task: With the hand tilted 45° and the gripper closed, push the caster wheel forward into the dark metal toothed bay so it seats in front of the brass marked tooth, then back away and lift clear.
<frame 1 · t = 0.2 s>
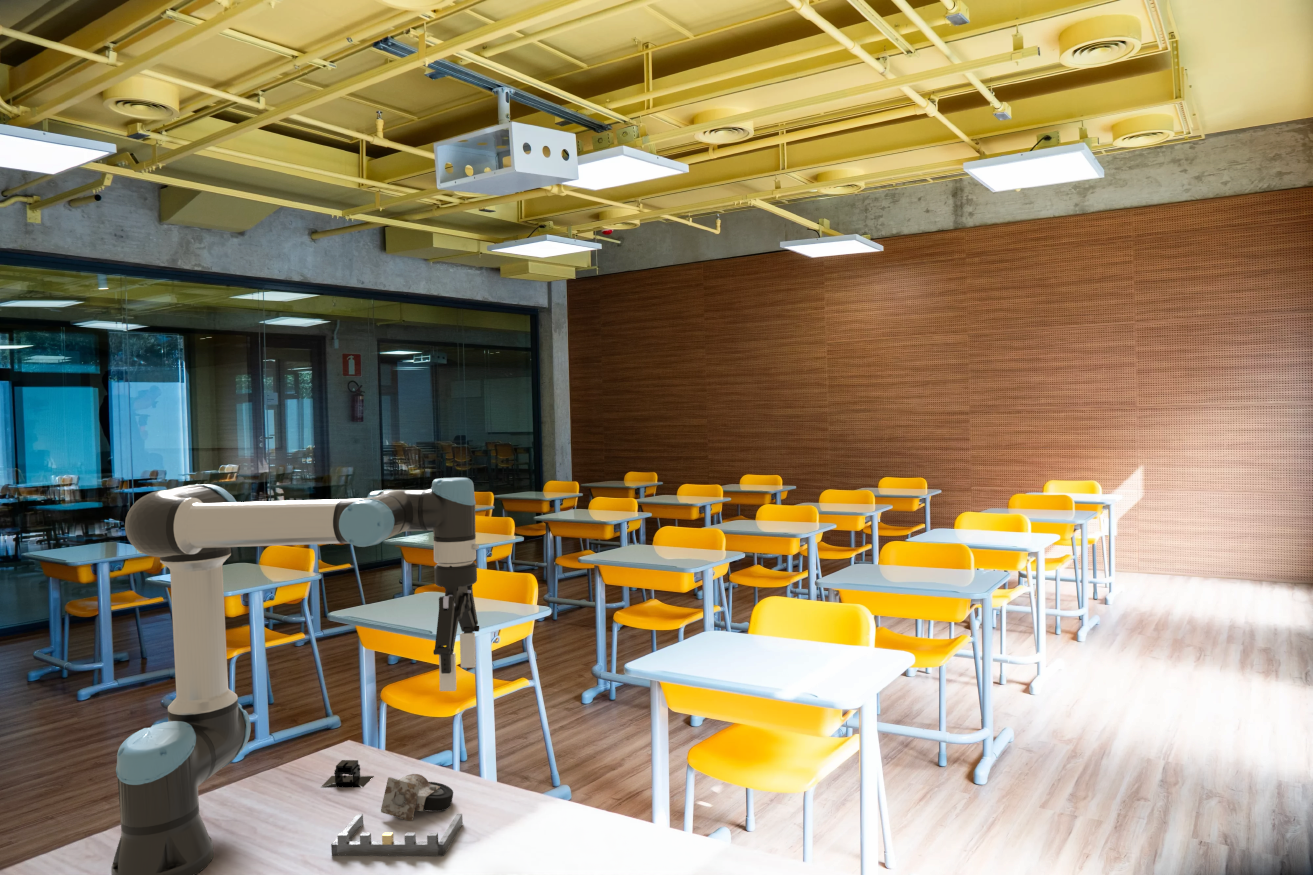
hand: (458, 678, 155), 28 cm above the table, tool pointing down, fingers open, 13 cm apart
caster wheel: (421, 809, 164), on the table
black mounting bracket: (348, 784, 178), on the table
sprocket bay: (399, 839, 153), on the table
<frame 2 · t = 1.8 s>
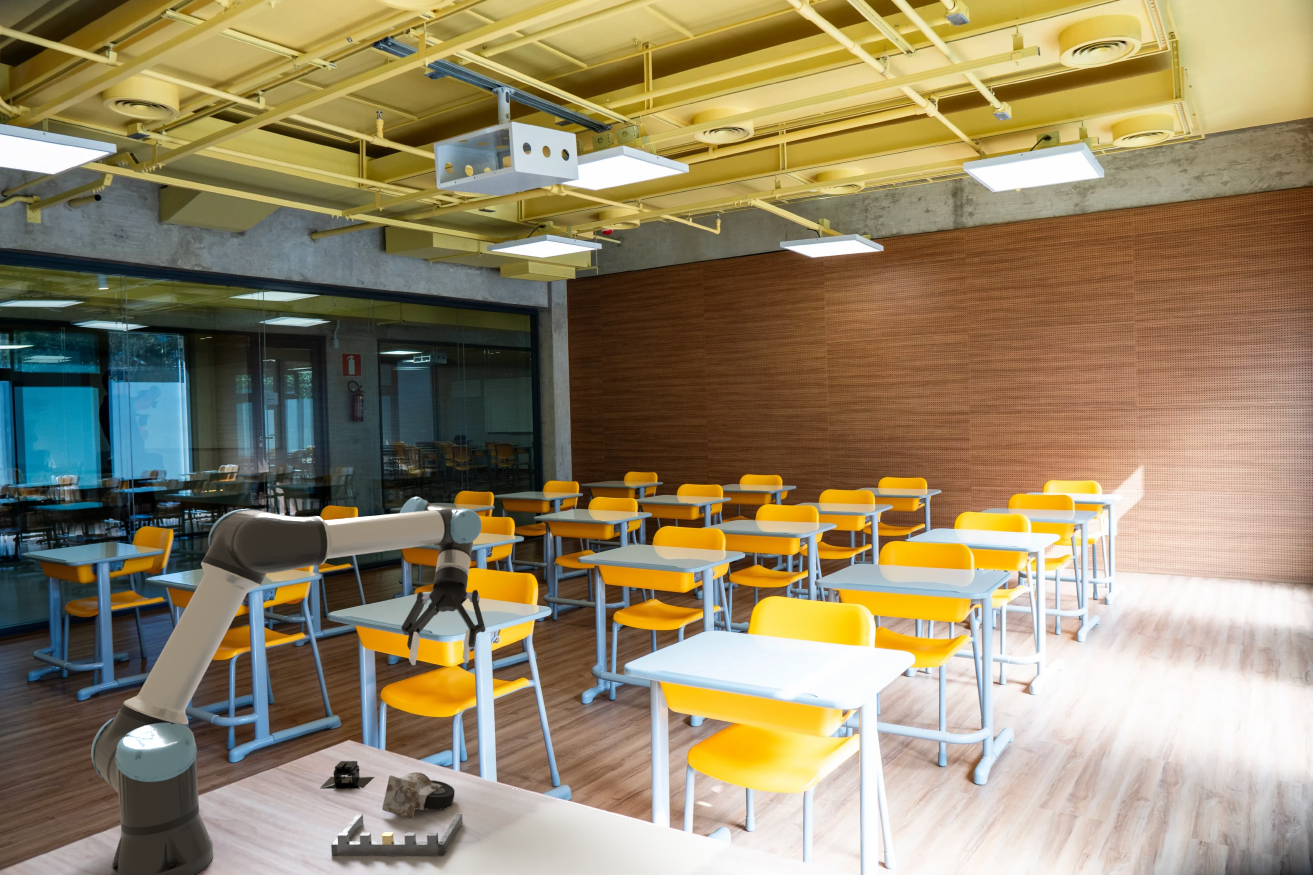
hand: (438, 660, 182), 23 cm above the table, tool tilted 45°, fingers open, 11 cm apart
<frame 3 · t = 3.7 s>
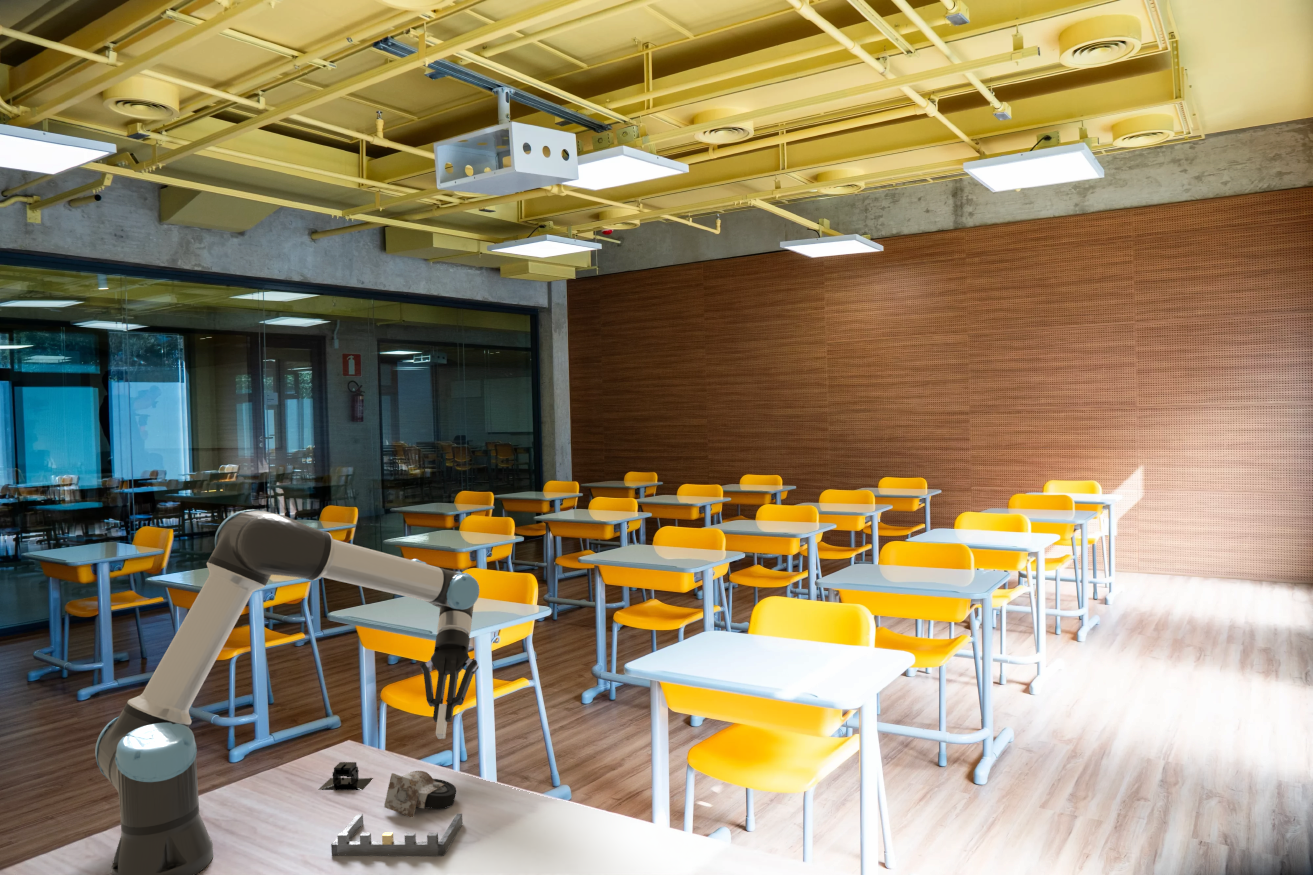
hand: (440, 735, 178), 8 cm above the table, tool tilted 45°, fingers closed
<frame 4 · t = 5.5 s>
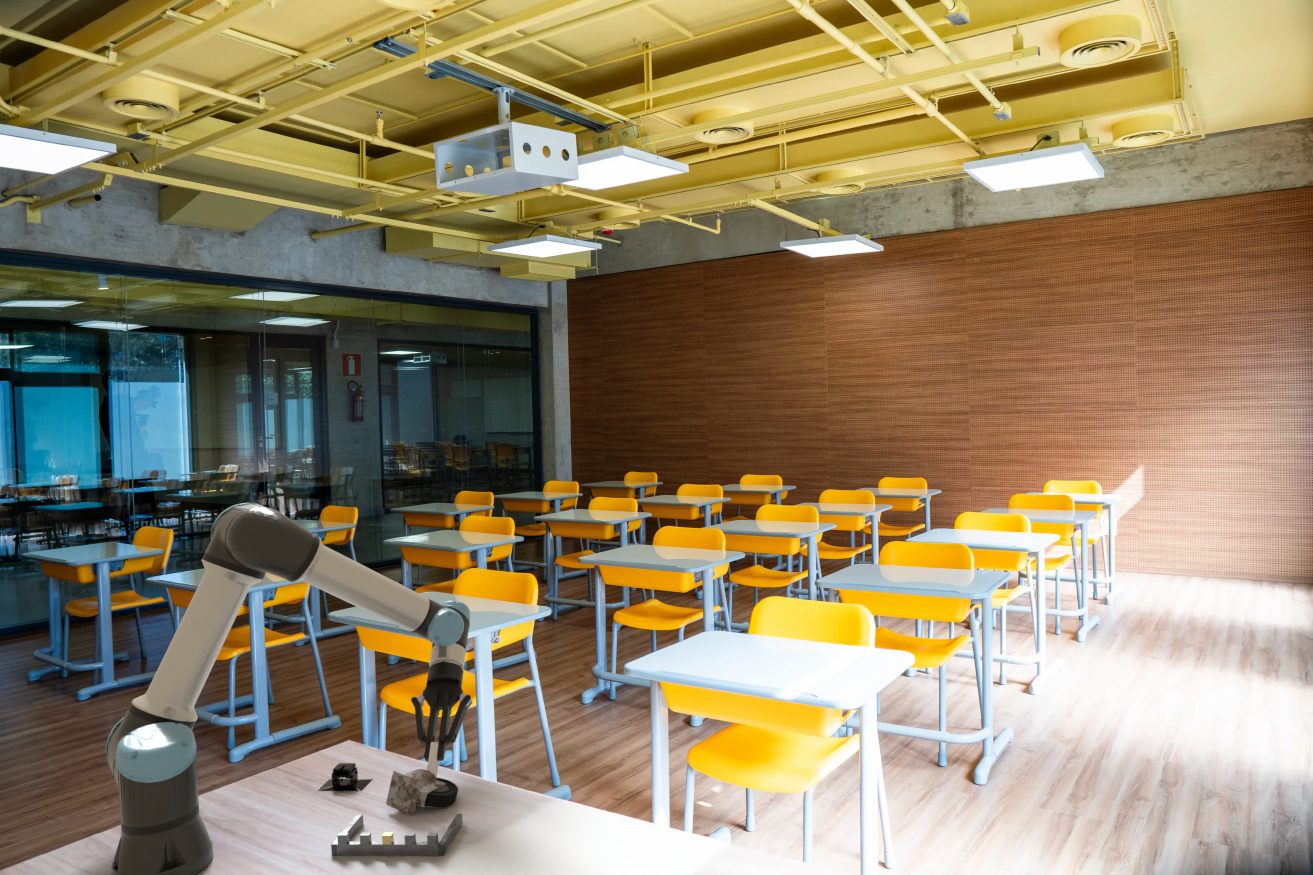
hand: (431, 776, 171), 3 cm above the table, tool tilted 45°, fingers closed
caster wheel: (427, 805, 166), on the table, touching gripper
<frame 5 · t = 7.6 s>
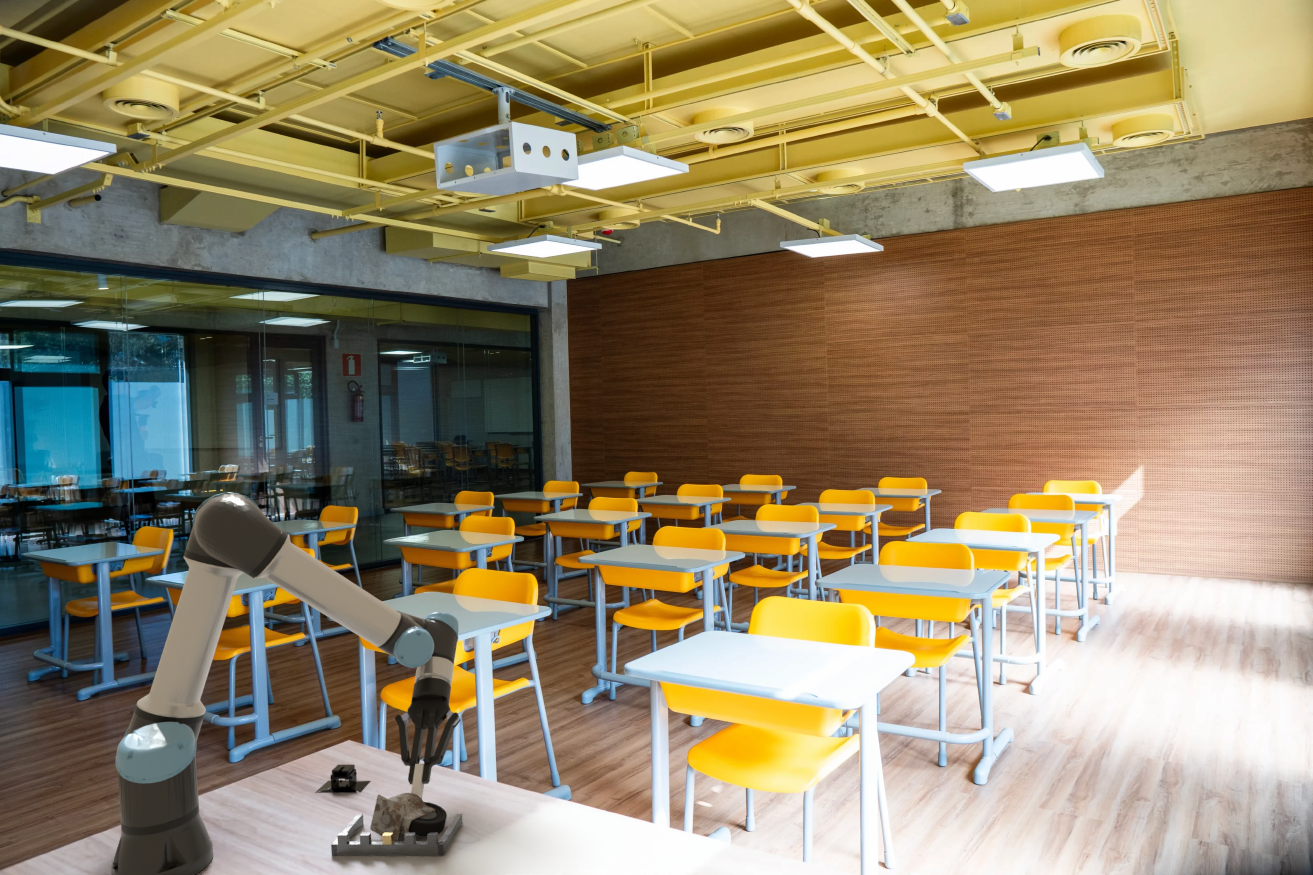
hand: (415, 800, 160), 4 cm above the table, tool tilted 45°, fingers closed
caster wheel: (414, 831, 156), on the table
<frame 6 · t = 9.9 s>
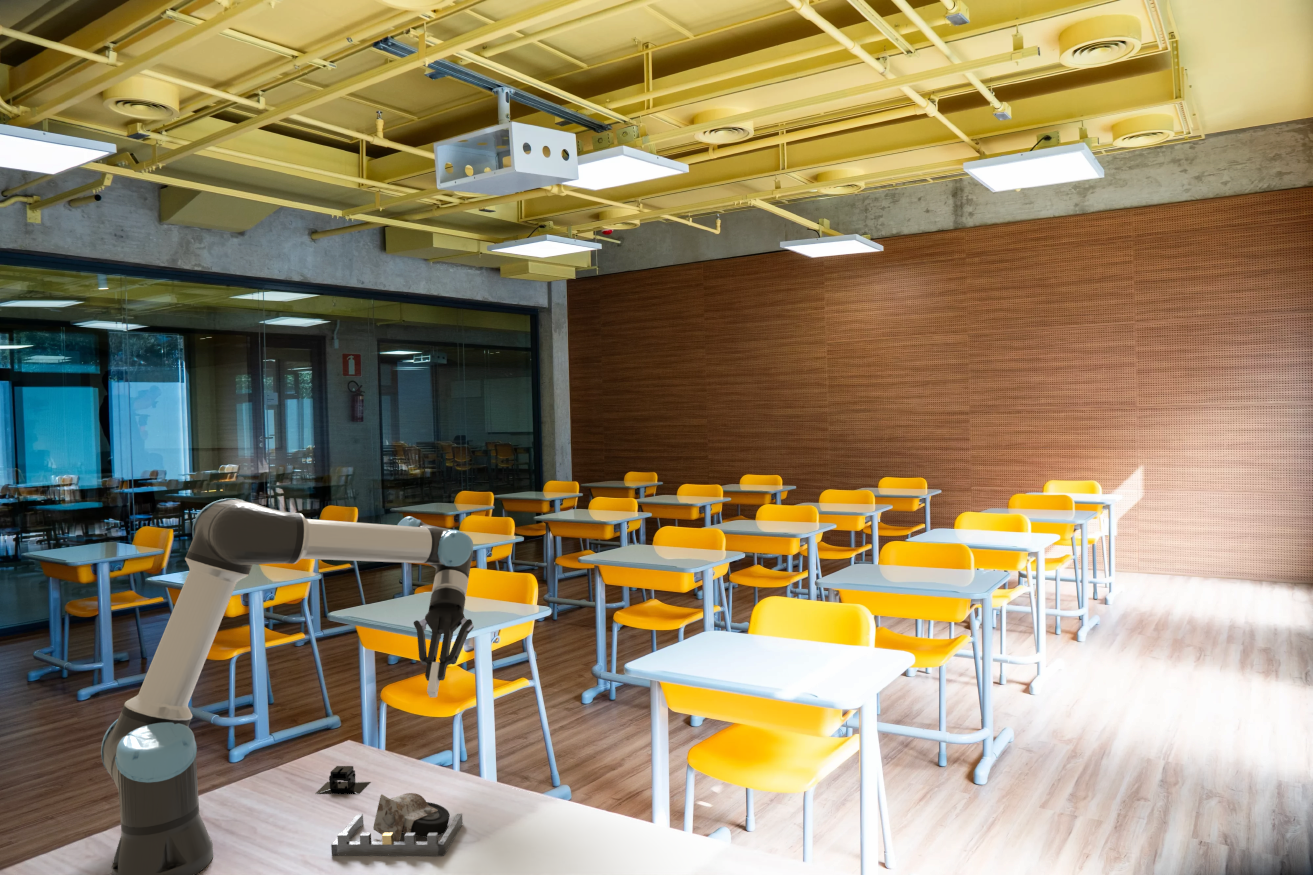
hand: (432, 693, 174), 19 cm above the table, tool tilted 45°, fingers closed
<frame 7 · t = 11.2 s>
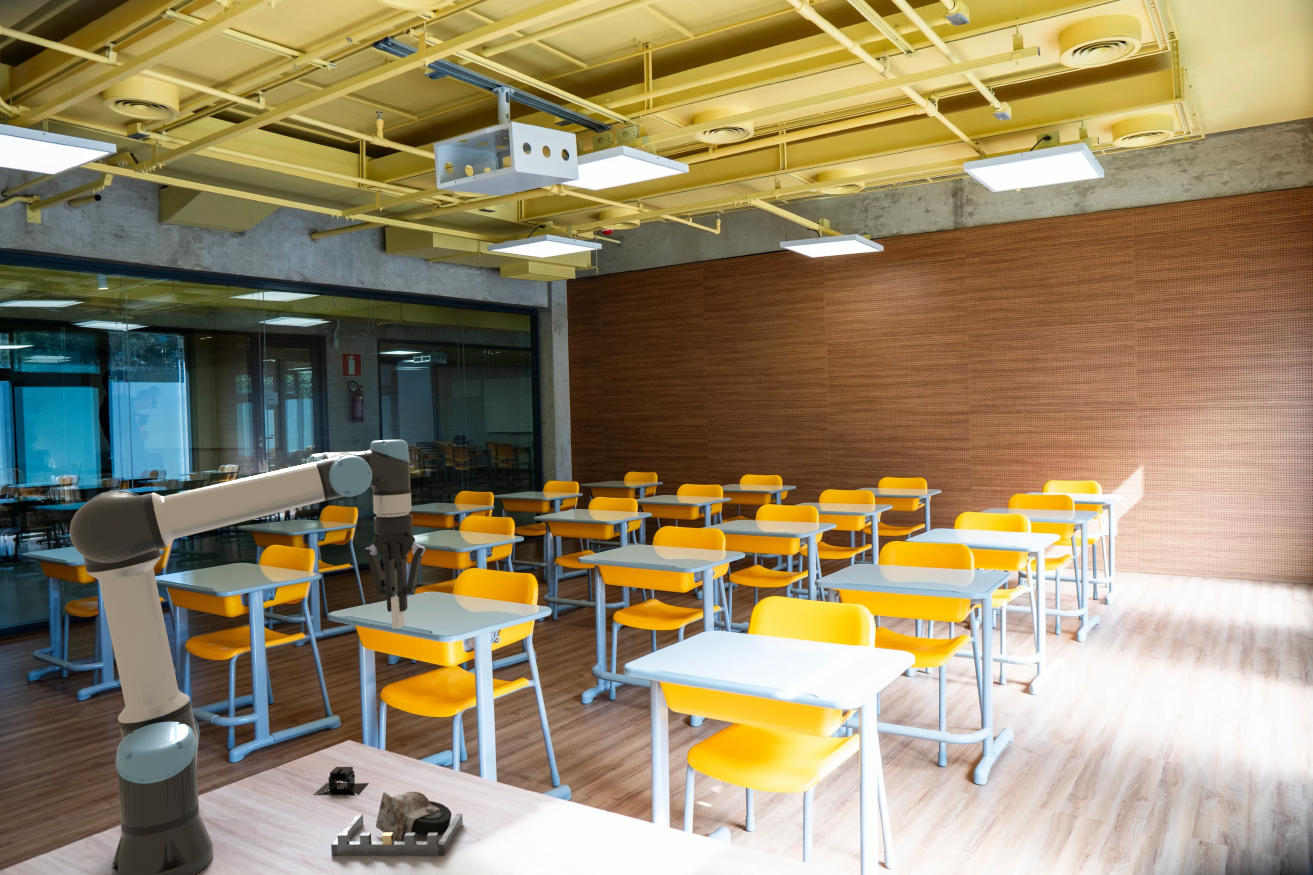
hand: (398, 626, 176), 32 cm above the table, tool pointing down, fingers closed
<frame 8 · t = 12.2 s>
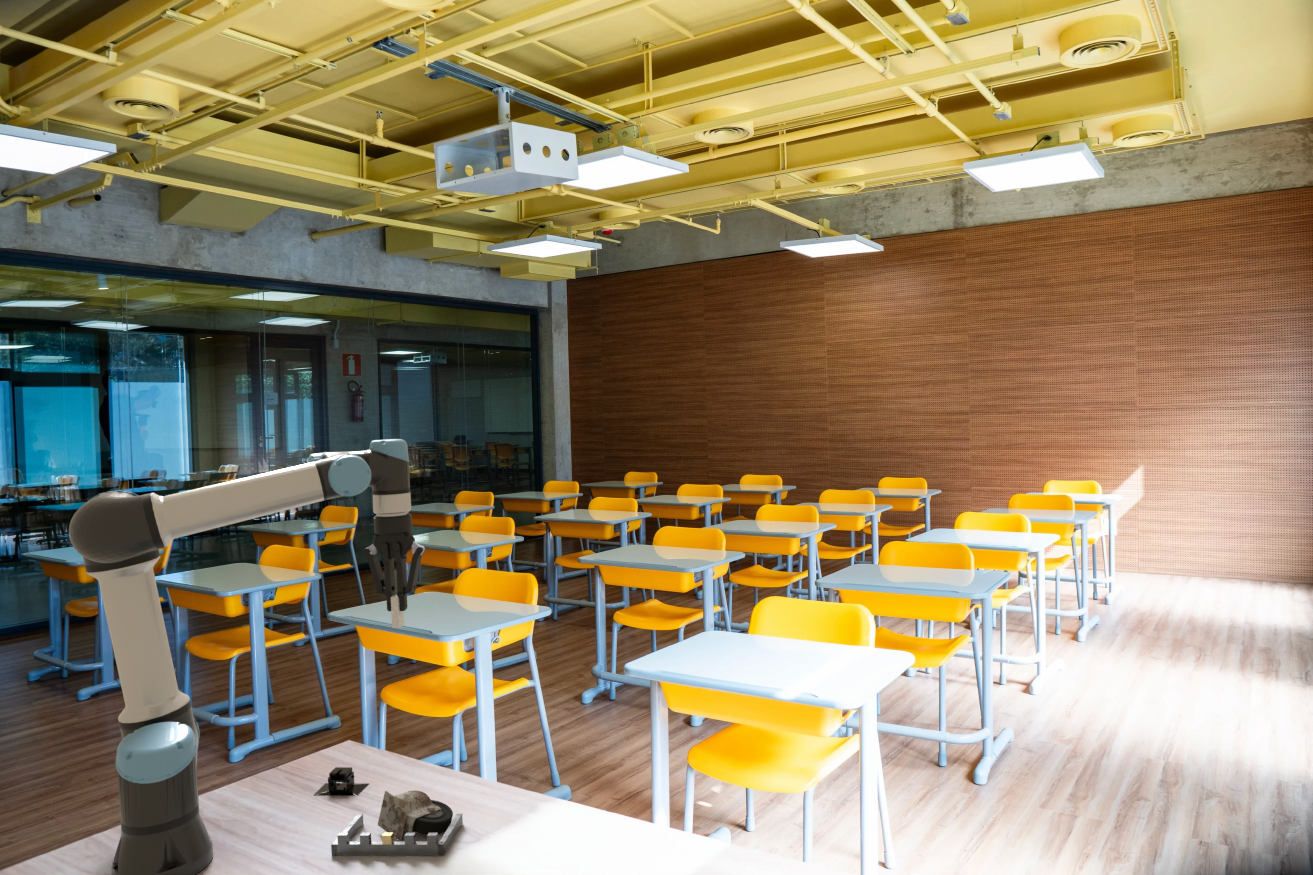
hand: (398, 626, 176), 32 cm above the table, tool pointing down, fingers closed
at the end: caster wheel inside the target area (3.6 cm from its centre), on the table; caster wheel tilted 0°; caster wheel moved 7.8 cm from its start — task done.
